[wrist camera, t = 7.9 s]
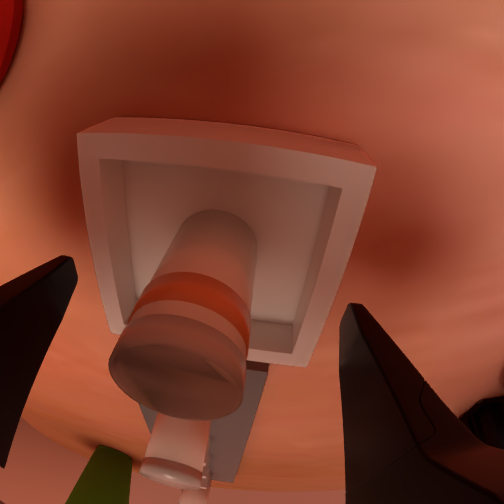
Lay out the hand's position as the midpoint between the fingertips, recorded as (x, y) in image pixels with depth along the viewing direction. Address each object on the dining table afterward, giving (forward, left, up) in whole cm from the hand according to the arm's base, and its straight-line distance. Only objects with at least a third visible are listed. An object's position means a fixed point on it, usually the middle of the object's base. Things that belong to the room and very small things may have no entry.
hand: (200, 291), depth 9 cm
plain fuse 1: (+1, +10, -2) cm, 10 cm away
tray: (0, 0, -3) cm, 3 cm away
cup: (+13, +36, -4) cm, 38 cm away
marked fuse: (0, 0, -2) cm, 2 cm away
